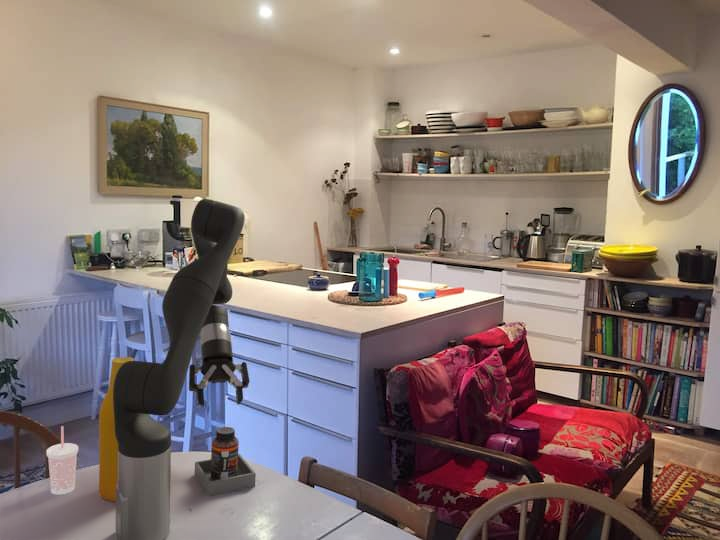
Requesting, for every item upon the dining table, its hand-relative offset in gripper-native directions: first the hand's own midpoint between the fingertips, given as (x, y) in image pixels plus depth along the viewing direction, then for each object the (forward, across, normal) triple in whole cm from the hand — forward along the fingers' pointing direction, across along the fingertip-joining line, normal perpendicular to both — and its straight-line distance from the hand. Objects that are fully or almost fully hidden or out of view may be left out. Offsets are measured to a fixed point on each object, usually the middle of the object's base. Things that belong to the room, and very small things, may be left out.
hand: (221, 404), depth 142 cm
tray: (+17, 0, +3) cm, 17 cm away
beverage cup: (+14, -34, +6) cm, 37 cm away
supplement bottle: (+17, 0, +2) cm, 17 cm away
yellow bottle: (+17, -22, +3) cm, 28 cm away
